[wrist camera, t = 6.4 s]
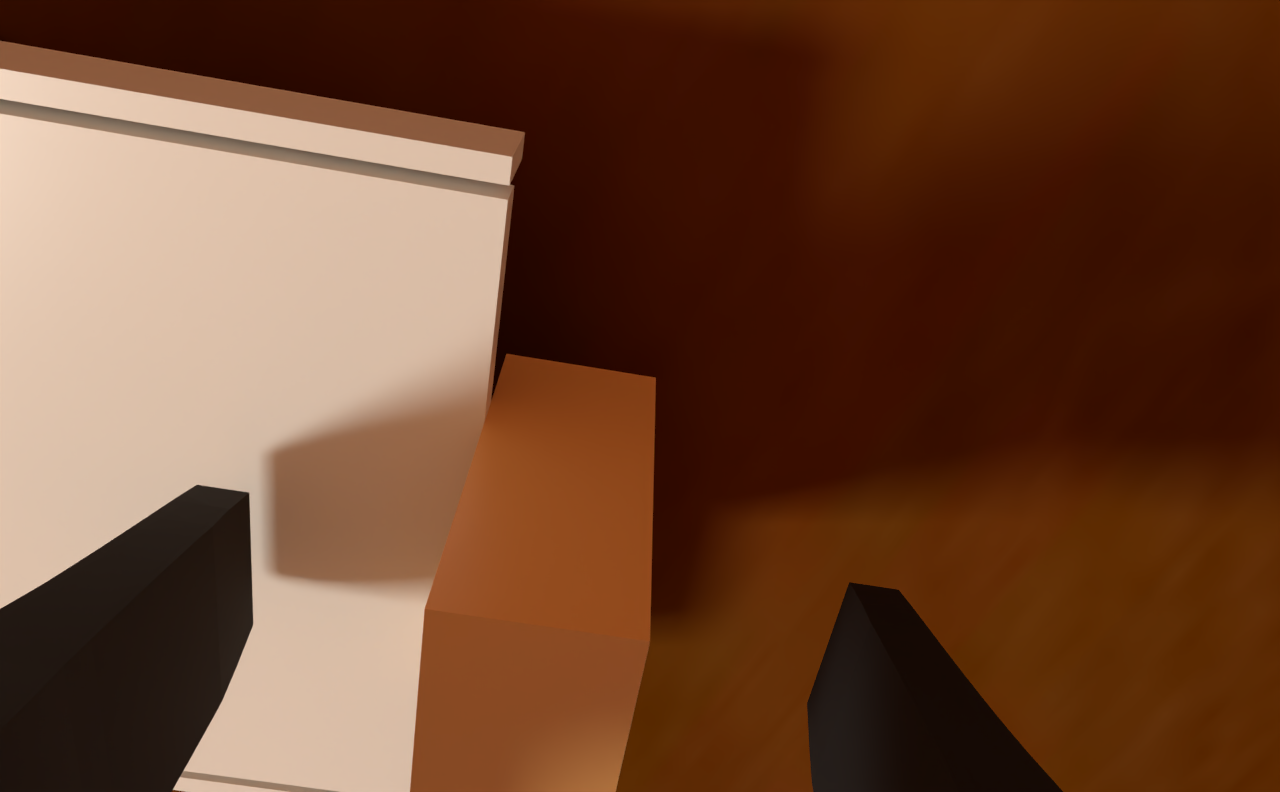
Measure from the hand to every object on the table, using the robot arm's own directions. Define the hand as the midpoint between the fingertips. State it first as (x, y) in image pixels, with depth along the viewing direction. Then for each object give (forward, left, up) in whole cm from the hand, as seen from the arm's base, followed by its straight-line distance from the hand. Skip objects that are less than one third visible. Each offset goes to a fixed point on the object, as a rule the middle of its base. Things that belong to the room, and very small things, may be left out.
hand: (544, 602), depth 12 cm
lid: (+6, 0, -2) cm, 7 cm away
